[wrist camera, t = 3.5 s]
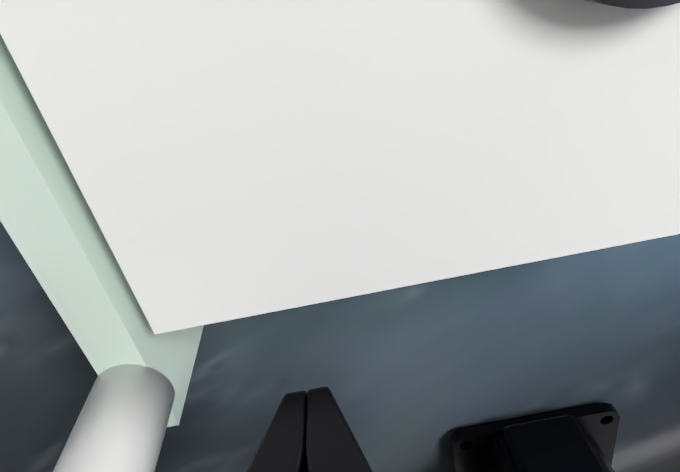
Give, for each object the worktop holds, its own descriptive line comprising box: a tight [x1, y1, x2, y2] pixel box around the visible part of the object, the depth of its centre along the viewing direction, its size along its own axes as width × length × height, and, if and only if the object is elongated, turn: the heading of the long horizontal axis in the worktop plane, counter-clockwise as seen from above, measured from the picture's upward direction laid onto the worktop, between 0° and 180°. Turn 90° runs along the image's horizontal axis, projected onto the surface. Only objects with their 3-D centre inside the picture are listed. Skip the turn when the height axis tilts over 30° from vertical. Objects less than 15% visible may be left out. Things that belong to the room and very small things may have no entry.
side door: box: [0, 34, 204, 472], centre depth 8 cm, size 10×2×9 cm, turn 10°
